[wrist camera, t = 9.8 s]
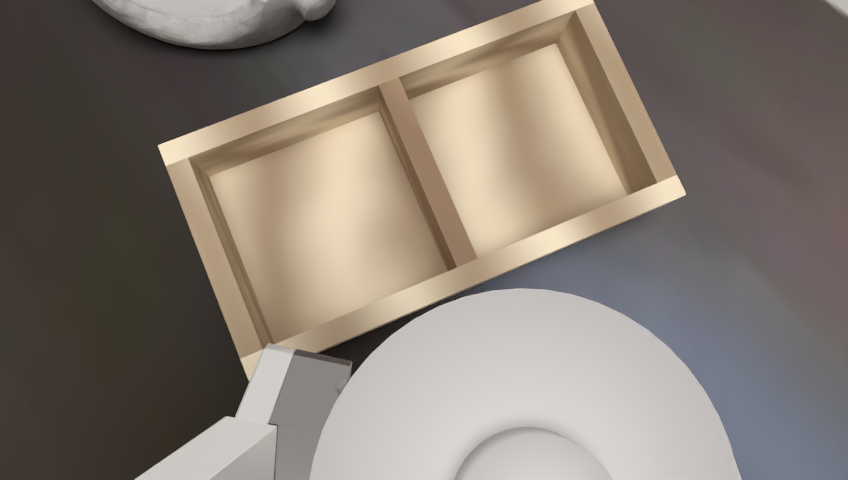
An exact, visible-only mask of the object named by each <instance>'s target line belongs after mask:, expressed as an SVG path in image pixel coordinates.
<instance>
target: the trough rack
mask: <svg viewBox="0 0 848 480" xmlns="http://www.w3.org/2000/svg"><path fill="white" fill-rule="evenodd" d="M158 147H159V150H160V152H161V155H162V157H163V160H164V163H165V165H166V168H167V170H168V173H169V176H170V178H171V181H172V183H173V186H174V189H175V191H176V194H177V196H178V199H179V202H180V204H181V207H182V209H183V212H184V214H185V217H186V220H187V222H188V225H189V227H190V230H191V233H192V235H193V238H194V240H195V243H196V246H197V248H198V251H199V253H200V256H201V259H202V261H203V264H204V266H205V269H206V272H207V274H208V277H209V279H210V282H211V284H212V287H213V290H214V292H215V295H216V297H217V300H218V303H219V305H220V308H221V310H222V313H223V316H224V318H225V321H226V323H227V326H228V329H229V331H230V334H231V336H232V339H233V342H234V344H235V347H236V349H237V352H238V354H239V357H240V360H241V362H242V365H243V367H244V370H245V373H246V375H247V378H248V380H249V381H250V380H251V377H252V375H253V372H254V370H255V368H256V365H257V363H258V360H259V358H260V356H261V353H262V351H263V349H264V348H265V347H266V345H267V344H268V343H270V344H275V345H279V346H284V347H289V348H293V349H299V350H304V351H308V352H313V353H317V354H318V353H320V352H322V351H325V350H327V349H329V348H332V347H334V346H336V345H339V344H341V343H343V342H346V341H348V340H350V339H353V338H355V337H357V336H360V335H362V334H364V333H367V332H369V331H372V330H374V329H376V328H379V327H381V326H383V325H386V324H388V323H390V322H393V321H395V320H397V319H400V318H402V317H404V316H407V315H409V314H411V313H414V312H416V311H418V310H421V309H423V308H425V307H428V306H430V305H432V304H435V303H437V302H440V301H442V300H444V299H447V298H449V297H451V296H454V295H456V294H458V293H461V292H463V291H465V290H468V289H470V288H472V287H475V286H477V285H479V284H482V283H484V282H486V281H489V280H491V279H493V278H496V277H498V276H500V275H503V274H505V273H508V272H510V271H512V270H515V269H517V268H519V267H522V266H524V265H526V264H529V263H531V262H533V261H536V260H538V259H540V258H543V257H545V256H547V255H550V254H552V253H554V252H557V251H559V250H561V249H564V248H566V247H569V246H571V245H573V244H576V243H578V242H580V241H583V240H585V239H587V238H590V237H592V236H594V235H597V234H599V233H601V232H604V231H606V230H608V229H611V228H613V227H615V226H618V225H620V224H622V223H625V222H627V221H629V220H632V219H634V218H637V217H639V216H641V215H644V214H646V213H648V212H650V211H652V210H655V209H657V208H659V207H661V206H663V205H665V204H667V203H670V202H672V201H674V200H676V199H678V198H680V197H682V196H685V195H686V193H685V191H684V189H683V187H682V184H681V182H680V180H679V178H678V176H677V174H676V172H675V170H674V168H673V166H672V164H671V162H670V160H669V157H668V155H667V153H666V151H665V149H664V147H663V145H662V143H661V141H660V139H659V137H658V135H657V132H656V130H655V128H654V126H653V124H652V122H651V120H650V118H649V116H648V114H647V112H646V110H645V108H644V105H643V103H642V101H641V99H640V97H639V95H638V93H637V91H636V89H635V87H634V85H633V83H632V81H631V78H630V76H629V74H628V72H627V70H626V68H625V66H624V64H623V62H622V60H621V58H620V56H619V54H618V51H617V49H616V47H615V45H614V43H613V41H612V39H611V37H610V35H609V33H608V31H607V29H606V26H605V24H604V22H603V20H602V18H601V16H600V14H599V12H598V10H597V8H596V6H595V4H594V2H593V0H542V1H540V2H537V3H534V4H532V5H529V6H526V7H524V8H521V9H518V10H516V11H513V12H510V13H508V14H505V15H502V16H500V17H497V18H495V19H492V20H489V21H487V22H484V23H481V24H479V25H476V26H473V27H471V28H468V29H465V30H463V31H460V32H457V33H455V34H452V35H449V36H447V37H444V38H441V39H439V40H436V41H433V42H431V43H428V44H426V45H423V46H420V47H418V48H415V49H412V50H410V51H407V52H404V53H402V54H399V55H396V56H394V57H391V58H388V59H386V60H383V61H380V62H378V63H375V64H372V65H370V66H367V67H365V68H362V69H359V70H357V71H354V72H351V73H349V74H346V75H343V76H341V77H338V78H335V79H333V80H330V81H327V82H325V83H322V84H319V85H317V86H314V87H311V88H309V89H306V90H303V91H301V92H298V93H296V94H293V95H290V96H288V97H285V98H282V99H280V100H277V101H274V102H272V103H269V104H266V105H264V106H261V107H258V108H256V109H253V110H250V111H248V112H245V113H242V114H240V115H237V116H234V117H232V118H229V119H227V120H224V121H221V122H219V123H216V124H213V125H211V126H208V127H205V128H203V129H200V130H197V131H195V132H192V133H189V134H187V135H184V136H181V137H179V138H176V139H173V140H171V141H168V142H165V143H163V144H160V145H158Z"/></svg>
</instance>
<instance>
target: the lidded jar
mask: <svg viewBox="0 0 848 480" xmlns="http://www.w3.org/2000/svg"><path fill="white" fill-rule="evenodd" d="M309 480H739V476H738V470H737V466H736V463H735V459H734V456H733V452H732V448H731V445H730V442H729V439H728V437H727V434H726V432H725V430H724V427H723V425H722V422H721V420H720V417H719V415H718V413H717V412H716V410H715V408H714V406H713V405H712V403H711V401H710V399H709V397H708V396H707V394H706V392H705V390H704V389H703V388H702V386H701V385H700V384H699V382H698V381H697V379H696V378H695V377H694V375H693V374H692V373H691V371H690V370H689V369H688V367H687V366H686V365H685V364H684V363H683V362H682V361H681V360H680V359H679V358H678V357H677V356H676V355H675V354H674V352H673V351H672V350H671V349H670V348H669V347H668V346H667V345H665V344H664V343H663V342H662V341H660V340H659V339H658V338H657V337H656V336H654V335H653V334H652V333H651V332H650V331H648V330H647V329H646V328H644V327H643V326H641V325H639V324H638V323H636V322H635V321H633V320H631V319H630V318H628V317H627V316H625V315H623V314H621V313H619V312H617V311H615V310H613V309H611V308H609V307H606V306H604V305H602V304H600V303H598V302H595V301H591V300H588V299H585V298H582V297H579V296H576V295H572V294H567V293H562V292H556V291H550V290H543V289H521V288H517V289H505V290H494V291H488V292H483V293H479V294H474V295H470V296H465V297H462V298H459V299H457V300H454V301H451V302H449V303H446V304H443V305H440V306H438V307H436V308H434V309H432V310H430V311H428V312H427V313H425V314H423V315H421V316H419V317H417V318H415V319H413V320H412V321H411V322H409V323H408V324H406V325H405V326H403V327H402V328H401V329H399V330H398V331H396V332H395V333H394V334H392V335H391V336H390V337H389V338H388V339H386V340H385V341H384V342H383V343H382V344H381V345H380V346H379V347H378V348H377V349H376V350H375V351H373V352H372V353H371V354H370V355H369V357H368V358H367V359H366V360H365V361H364V362H363V364H362V365H361V366H360V367H359V368H358V370H357V371H356V372H355V373H354V374H353V376H352V377H351V378H350V380H349V382H348V383H347V385H346V386H345V388H344V389H343V391H342V393H341V394H340V396H339V397H338V399H337V400H336V402H335V404H334V406H333V408H332V411H331V413H330V415H329V417H328V419H327V421H326V423H325V425H324V427H323V430H322V433H321V436H320V439H319V442H318V445H317V448H316V452H315V455H314V458H313V463H312V469H311V474H310V479H309Z"/></svg>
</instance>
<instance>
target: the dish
mask: <svg viewBox="0 0 848 480" xmlns="http://www.w3.org/2000/svg"><path fill="white" fill-rule="evenodd" d="M92 1H93V2H94V3H95V4H97V5H98V6H99V7H100V8H102V9H103V10H104V11H106V12H107V13H108V14H110V15H111V16H113V17H114V18H115V19H117V20H119V21H120V22H122V23H124V24H125V25H127V26H129V27H131V28H133V29H135V30H137V31H139V32H141V33H143V34H145V35H148V36H150V37H153V38H156V39H159V40H161V41H164V42H168V43H171V44H175V45H180V46H186V47H192V48H199V49H214V50H216V49H236V48H244V47H249V46H255V45H259V44H263V43H266V42H270V41H272V40H275V39H277V38H279V37H282V36H283V35H285V34H287V33H289V32H291V31H292V30H294V29H296V28H297V27H298V26H299V25H301V24H302V23H303V22H304V21H306V20H308V21H313V20H317V19H320V18H323V17H324V16H325V15H326V14H327V13H328V12H329V11H330V10H331V9H332V7H333V6H334V4H335V2H336V0H92Z"/></svg>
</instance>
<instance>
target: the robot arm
mask: <svg viewBox="0 0 848 480" xmlns="http://www.w3.org/2000/svg"><path fill="white" fill-rule="evenodd" d="M351 368H352V361H349V360H344V359H340V358H335V357H331V356H326V355H322V354H317V353H313V352H308V351H304V350H299V349H293V348H289V347H284V346H279V345H275V344H270V343H268V344H267V345H266V347H265V348H264V349H263V351H262V353H261V356H260V358H259V360H258V363H257V365H256V368H255V370H254V372H253V375H252V377H251V380H250V382H249V384H248V387H247V389H246V391H245V394H244V396H243V399H242V401H241V403H240V406H239V408H238V411H237V413H236V415H235V418H234V417H228V416H225V417H224V418H223V419H221V420H220V421H218V422H217V423H215V424H214V425H212V426H211V427H210V428H208V429H207V430H205V431H204V432H202V433H201V434H199V435H198V436H197V437H195V438H194V439H192V440H191V441H189V442H188V443H186V444H185V445H184V446H182V447H181V448H179V449H178V450H176V451H175V452H173V453H172V454H171V455H169V456H168V457H166V458H165V459H163V460H162V461H160V462H159V463H158V464H156V465H155V466H153V467H152V468H150V469H149V470H147V471H146V472H145V473H143V474H142V475H140V476H139V477H137V478H136V479H134V480H309V479H310V474H311V469H312V463H313V458H314V455H315V452H316V448H317V445H318V442H319V439H320V436H321V433H322V430H323V427H324V425H325V423H326V421H327V419H328V417H329V415H330V413H331V411H332V408H333V406H334V404H335V402H336V400H337V399H338V397H339V396H340V394H341V393H342V391H343V389H344V388H345V386H346V385H347V383H348V382H349V379H350V375H351ZM735 463H736V462H735ZM736 466H737V465H736ZM737 470H738V468H737ZM738 476H739V480H742V479H741V476H740V473H739V470H738Z"/></svg>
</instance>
